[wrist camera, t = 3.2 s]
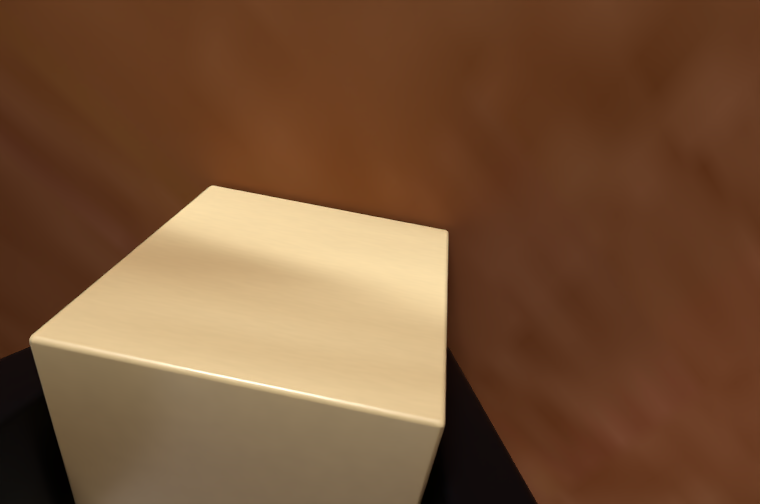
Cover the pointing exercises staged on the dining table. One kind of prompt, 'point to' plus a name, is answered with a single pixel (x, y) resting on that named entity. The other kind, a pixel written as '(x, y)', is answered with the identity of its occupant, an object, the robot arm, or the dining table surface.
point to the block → (255, 360)
